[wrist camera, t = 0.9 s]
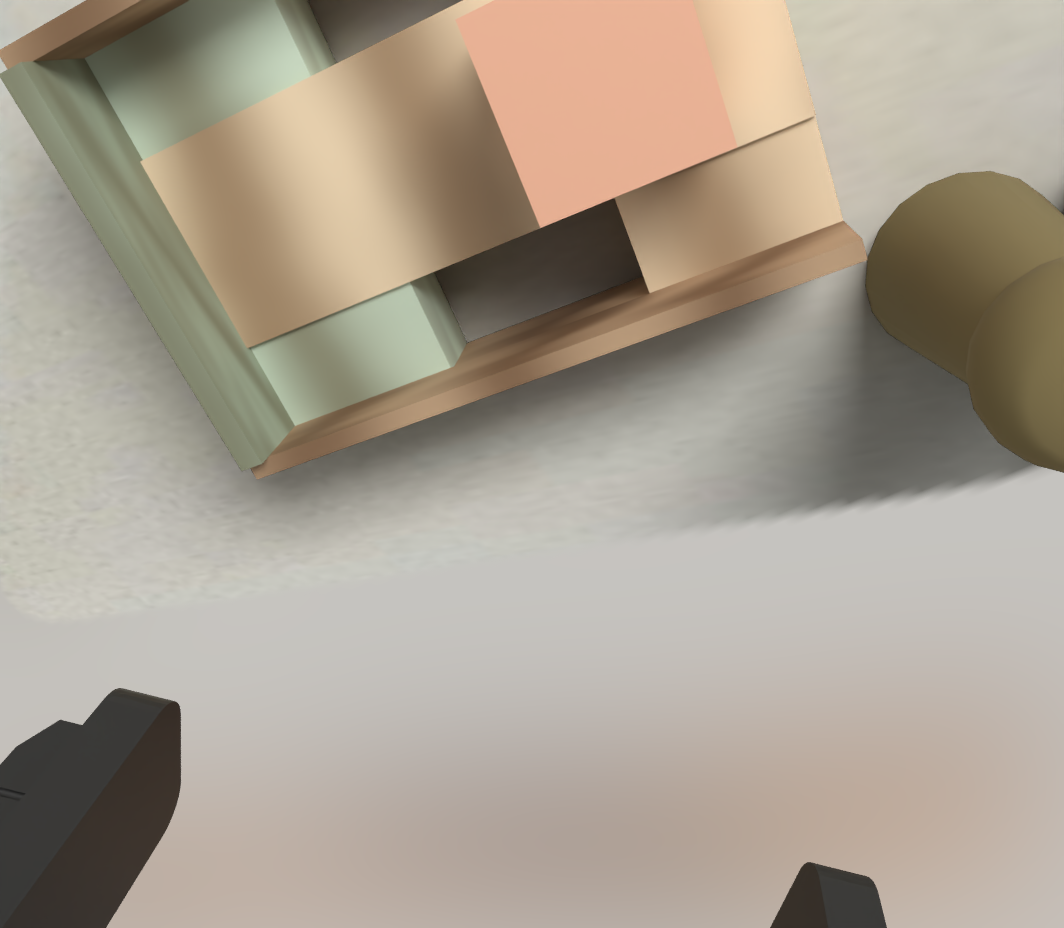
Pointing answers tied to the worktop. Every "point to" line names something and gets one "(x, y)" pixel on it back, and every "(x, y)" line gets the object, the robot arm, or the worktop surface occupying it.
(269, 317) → the wooden organizer box
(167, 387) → the worktop surface
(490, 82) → the block
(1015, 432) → the cork
